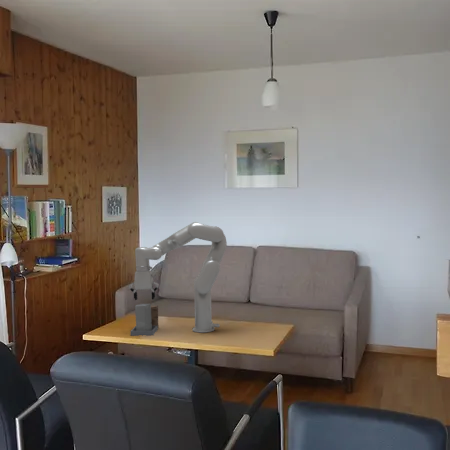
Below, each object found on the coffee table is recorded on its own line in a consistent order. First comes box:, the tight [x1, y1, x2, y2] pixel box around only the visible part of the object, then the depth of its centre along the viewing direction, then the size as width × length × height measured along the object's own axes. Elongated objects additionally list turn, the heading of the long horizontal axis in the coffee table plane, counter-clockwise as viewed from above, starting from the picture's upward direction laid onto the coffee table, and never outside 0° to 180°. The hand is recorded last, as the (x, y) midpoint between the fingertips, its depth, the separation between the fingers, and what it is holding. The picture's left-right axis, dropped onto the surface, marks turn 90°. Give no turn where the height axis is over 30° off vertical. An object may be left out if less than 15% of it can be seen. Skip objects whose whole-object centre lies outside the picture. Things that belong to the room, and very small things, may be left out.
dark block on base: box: [151, 305, 159, 329], centre depth 316 cm, size 12×4×13 cm, turn 86°
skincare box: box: [134, 303, 152, 331], centre depth 307 cm, size 8×7×16 cm
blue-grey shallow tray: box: [130, 325, 159, 337], centre depth 307 cm, size 13×14×2 cm
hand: (144, 299), depth 307 cm, fingers open, 9 cm apart
